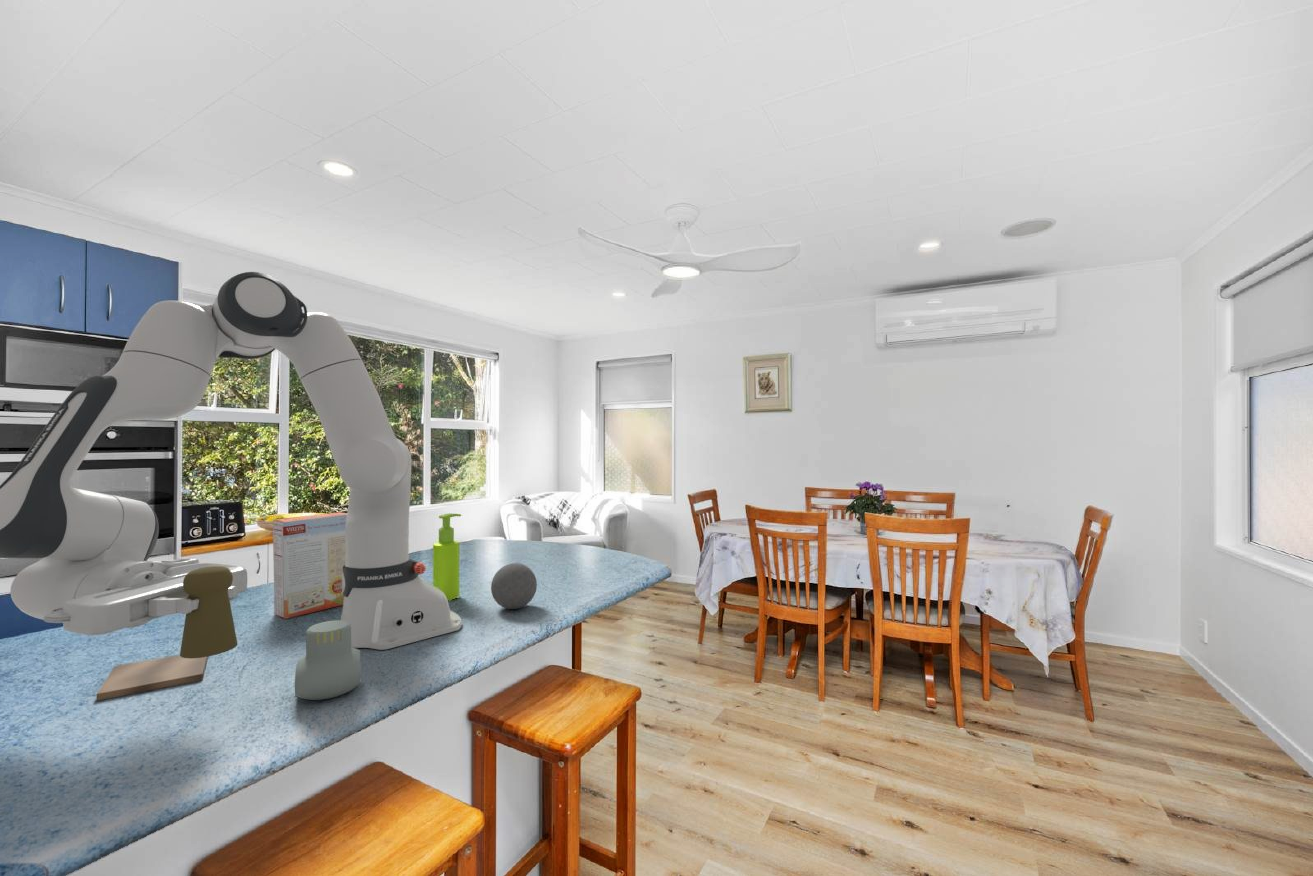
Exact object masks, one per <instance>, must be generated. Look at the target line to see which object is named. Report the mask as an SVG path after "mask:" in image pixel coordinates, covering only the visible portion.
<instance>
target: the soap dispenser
mask: <svg viewBox="0 0 1313 876" xmlns="http://www.w3.org/2000/svg"><path fill="white" fill-rule="evenodd" d="M461 516H462V514H461V513H444V514H441V515H438V519H442V527H440V528H438V541H437V542H435V543H433V544H432V585H433V586H435V587H436V588H438V589H439V590H441V591H442V592H443V593H444V594H445V596H446V598H447V600H452V599H455V598H457V597H458V596H459V597H460V542H459V541H455V539H454V538H455V535H454V534H455V531H454V530H455V529H454V527H452V526H451V518H455V517H461ZM455 600H456V599H455ZM452 601H453V600H452Z"/></svg>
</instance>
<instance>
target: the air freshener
mask: <svg viewBox="0 0 1313 876" xmlns="http://www.w3.org/2000/svg"><path fill="white" fill-rule="evenodd" d="M305 634H306V635H305V637H306V638H305V642H306V643H305V645H306V647H305V655H304V656H302V657H300V658H299V659H298V660H296V663H295V664H296V665H295V673H294V695H295V696H296V697H298V698H301V699H304V700H308V701H309V700H310V701H323V700H329V699H333V698H337V697H340V696H343V695H345V694H346V693H349V692H350V691H352V690H353V689H355V688H356V687H357V686H359V685H360V684H361V675H362V674H361V650H360V649H358V648H354V647H351V624H350V623H349V622H347V621H343V620H341V619H339V620H337V619H335V620H328V621H323V622H318V623H315V624H313V625H311V626H309V628H308V629H306V633H305Z"/></svg>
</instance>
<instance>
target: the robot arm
mask: <svg viewBox="0 0 1313 876" xmlns="http://www.w3.org/2000/svg"><path fill="white" fill-rule="evenodd" d="M302 308H303V309H302ZM303 311H304V312H303ZM275 350H277V351H278V352H280V353H281V354H283V355H284V356H285V357H286V358H287V359H288V360H289V361H290V363H291V364H292V365H293V367H294V369H295V371H296V374H297V376H298V378H299V381H300V382H301V384H302V386H303V388H304V390H305V392H306V394H307V396H308V398H309V399H310V400H309V401H310V403H311V405H312V406H313V408H314V410H315V412H316V414H317V417H318V418H319V422H320V424H321V426H322V428H323V432H324V435H325V438H326V441H327V444H328V447H329V449H330V452H331V455H332V458H333V460H334V462H335V466H336V467H337V470H338V474H339V476H340V478H341V480H342V481H343V482H344V484H345V485H346V486H347V487H349V488H350V489H349V490H350V491H349V496H348V497H349V498H348V499H349V500H348V506H347V519H346V523H345V564H344V565H343V572H342V592H343V595H344V601H343V605H342V609H341V610H342V611H341V616H340V620H343V621H347V622H349V623H350V624H351V647H352V648H356V649H358V648H360V649H361V648H362V649H367V648H368V649H373V650H379V651H380V650H381V651H382V650H389V649H392V648H398V647H402V646H405V645H408V644H412V643H416V642H420V641H423V640H427V639H431V638H433V637H438V636H442V635H445V634H448V633H454V632H456V631H457V632H458V631H459V630H460V629H461V628H462V626H463V624H462V619H461V617H460V615H459V614H458V613H456V612H454V611H453V610H451V609H450V604H449V601H448V600H447V598H446V596H445V594H444V593H443V592H442V591H441V590H439V589H438V588H436V587H435V586H433V583H430V582H428V581H427V580H425V579H423V578H422V577H420V575H423V574H424V573H425V572H426V571H427V570H426V569H427V567H426V565H425V564H424V563H422V562H419V561H416V560H415V559H412V558H409V554H410V553H409V550H410V549H409V547H410V545H409V537H410V536H409V529H410V528H409V526H410V525H409V521H410V519H409V518H410V505H411V486H412V485H411V484H412V454H411V451H410V450H409V448H408V446H407V445H406V444H405V443H404V442H403V441H402V440H401V439H399V438H397V437H396V434H395V432H394V430H393V428H392V426H391V423H390V420H389V418H388V415H387V413H386V410H385V409H384V405H383V403H382V400H381V396H380V395H379V393H378V390H377V388H376V387H375V384H374V382H373V380H372V378H371V375H370V374H369V371H368V370H367V368H366V366H365V363H364V361H363V359H362V357H361V356H360V353H359V351H358V349H357V347H355V344H354V343H353V341H352V340H351V338H350V337H349V335H348V333H347V332H346V330H345V329H344V328H343V327H342V325H341V324H340V323H339V321H338V320H337V319H336V318H334V317H333V316H332V315H330V314H328V313H325V312H315V311H314V312H308V309H307V305H305V303H304V302H303V301H302V300H300V299H299V298H298V297H297V296H295V295H294V294H293V293H292V291H291V290H289V288H288V287H287V286H286V285H285V284H283V282H281V281H279V280H278V279H276V278H275V277H273V276H271V275H269V274H267V273H263V272H259V271H258V272H257V271H246V272H241V273H237V274H236V275H233V276H232V277H230V278H228V279H227V280H226V281H225V282H224V283H223V284H222V285H221V287H220V289H219V290H218V293H217V295H216V298H215V300H214V303H213V304H209V305H204V306H203V305H197V304H196V305H195V304H194V303H191V302H186V301H184V300H183V301H182V300H172V299H171V300H162V301H158V302H156V303H154V304H153V305H151V306H150V307H149V308H148V310H146V312H145V313H144V314H143V316H142V317H141V319H140V320H139V322H137V324H136V326H135V327H134V329H133V330H132V332H131V335H130V336H129V338H128V340H127V341H126V344H125V346H124V348H123V350H122V352H121V354H120V357H119V359H118V360H117V362H116V363H115V364H114V366H113V367H112V368H111V369H110V370H109V371H108V372H105V374H103V375H96V376H95V375H93V376H91V377H88V378H86V379H85V380H82V382H80V383H79V384H78V385H77V386H76V387H75V388H74V389H73V390H72V391H71V392H70V393H69V394H68V396H67V397H66V398H65V399H64V401H63V402H61V404H60V406H59V407H58V409H57V410H56V411H55V412H54V413H53V415H52V417H51V418H50V420H49V421H48V422H47V424H46V425H45V426H44V428H43V430H42V431H41V432H40V433H39V434H38V436H37V438H36V439H35V441H34V442H33V443H32V444H31V446H30V447H29V448H28V450H27V452H26V453H25V455H24V456H23V457H22V458H21V460H20V461H19V463H18V465H17V466H16V467H15V468H14V470H13V471H12V473H11V474H9V476H8V477H7V478H6V479H5V480H4V481H3V482H2V483H1V484H0V558H2V559H39V560H38V561H36V562H35V563H32V564H30V565H28V566H26V567H25V568H23V569H22V570H20V571H19V573H17V575H16V576H15V577H14V578H13V580H12V583H11V585H10V597H11V600H12V602H13V604H14V605H15V606H16V608H18V609H19V610H20V611H21V612H22V613H24V614H25V615H28V616H30V617H32V618H36V619H40V620H42V621H44V622H45V623H50V624H51V623H52V624H53V623H54V624H62V625H63V626H62V627H63V630H65V631H67V632H69V633H73V634H77V635H84V636H100V635H106V634H109V633H110V634H111V633H114V632H116V631H119V630H123V629H130V628H131V629H132V628H137V627H138V628H139V627H140V626H143V625H145V624H148V623H150V622H151V621H152V620H155V619H159V618H162V617H165V616H168V615H177V614H179V615H181V614H183V615H186V614H188V613H191V612H194V611H196V610H198V609H199V605H198V604H199V598H198V597H189V595H188V594H187V593H186V592H185V590H184V588H183V580H184V578H185V576H186V575H187V574H188V573H189V572H191V571H193V570H196V569H199V568H204V567H211V566H221V567H226V568H228V569H229V570H230V571H231V572H232V575H233V581H232V584H231V586H230V587H229V589H228V594H229V600H230V601H232V600H234V599H235V600H236V598H237V597H238V596H237V595H238V594H242V593H244V592H246V590H247V588H248V571H247V569H246V567H244V566H241V565H236V564H227V563H217V562H199V559H198V558H194V557H193V558H192V557H189V558H177V559H169V560H168V559H167V560H160V561H155V560H154V561H153V560H149V558H150V557H151V555H152V553H153V551H154V549H155V547H156V545H157V541H158V538H159V534H160V533H159V532H160V529H159V527H160V526H159V518H158V515H157V513H156V511H155V509H153V507H152V506H151V505H150V504H149V503H147V502H146V501H143V500H138V499H134V498H129V497H124V496H121V495H120V496H119V495H114V494H106V493H101V492H95V491H92V490H86V489H81V488H75V487H73V485H72V483H71V481H72V478H73V477H74V474H75V473H76V472H77V470H78V469H79V467H80V465H81V464H82V463H83V461H84V459H85V458H86V456H87V455H88V453H89V452H90V450H91V449H92V448H93V446H94V444H95V443H96V442H97V440H98V438H99V436H100V435H101V434H102V433H103V432H104V431H105V430H106V429H107V428H108V427H111V426H112V425H114V424H117V423H120V422H121V423H122V422H127V421H128V422H129V421H163V420H169V419H174V418H178V417H180V416H181V417H182V416H184V415H185V414H187V413H189V412H191V411H193V410H194V409H195V408H197V407H198V406H199V404H200V402H202V400H203V398H204V396H205V394H206V391H207V388H208V386H209V382H210V380H211V377H212V374H213V372H214V368H215V365H216V362H217V360H218V358H233V359H234V358H235V359H242V360H256V359H260V358H261V359H262V358H264V357H266V356H268V355H270V354H271V353H273V352H274V351H275Z"/></svg>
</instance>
